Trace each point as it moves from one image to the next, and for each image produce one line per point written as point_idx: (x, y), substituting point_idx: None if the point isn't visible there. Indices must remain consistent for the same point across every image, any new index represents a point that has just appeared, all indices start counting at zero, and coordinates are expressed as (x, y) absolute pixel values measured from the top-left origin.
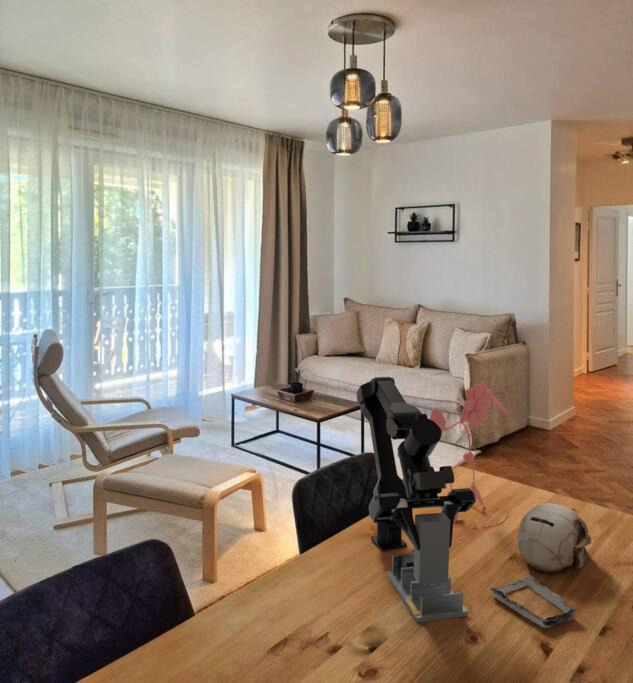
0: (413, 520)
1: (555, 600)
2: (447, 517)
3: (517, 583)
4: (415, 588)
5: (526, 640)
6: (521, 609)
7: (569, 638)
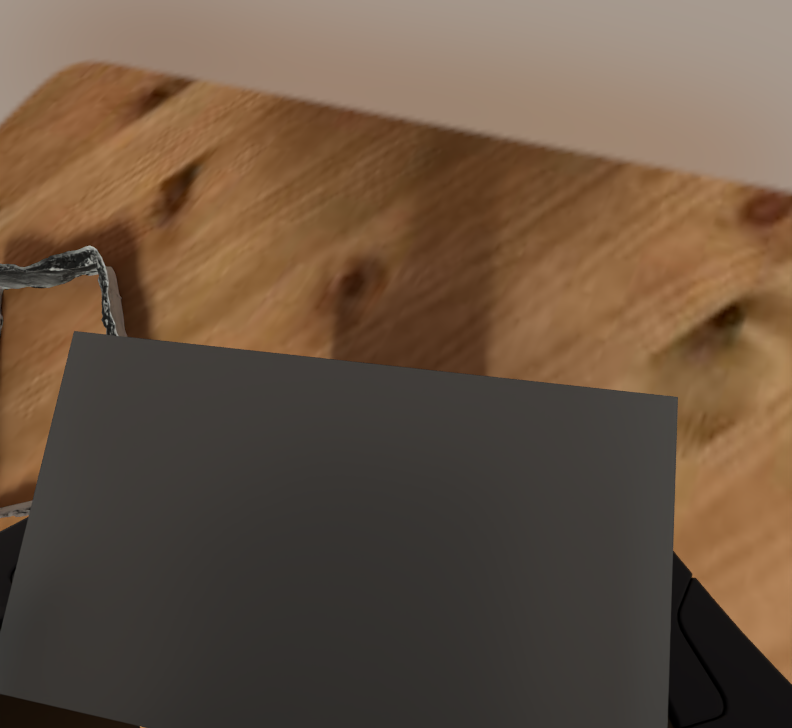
0: (677, 713)
1: None
2: (52, 454)
3: (16, 510)
4: None
5: (204, 234)
6: None
7: (83, 214)
